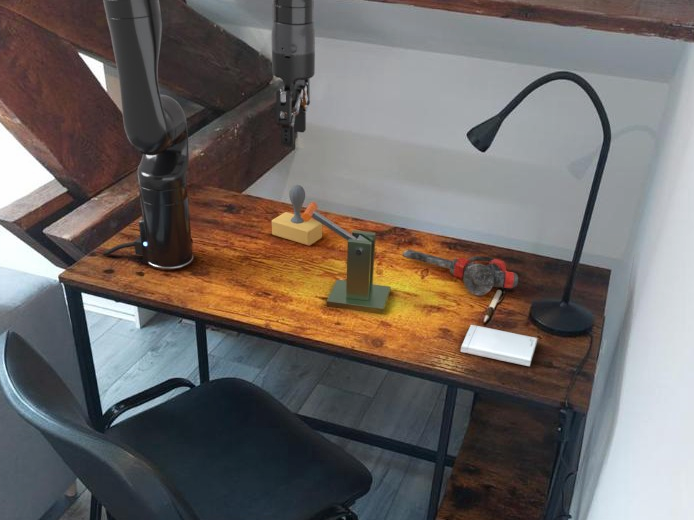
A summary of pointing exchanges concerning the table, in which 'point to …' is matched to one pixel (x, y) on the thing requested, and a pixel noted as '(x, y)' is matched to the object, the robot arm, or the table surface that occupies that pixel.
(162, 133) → the robot arm
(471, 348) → the hard drive
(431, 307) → the table surface
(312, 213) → the lever
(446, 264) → the valve
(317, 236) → the rubber stamp
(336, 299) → the bracket
